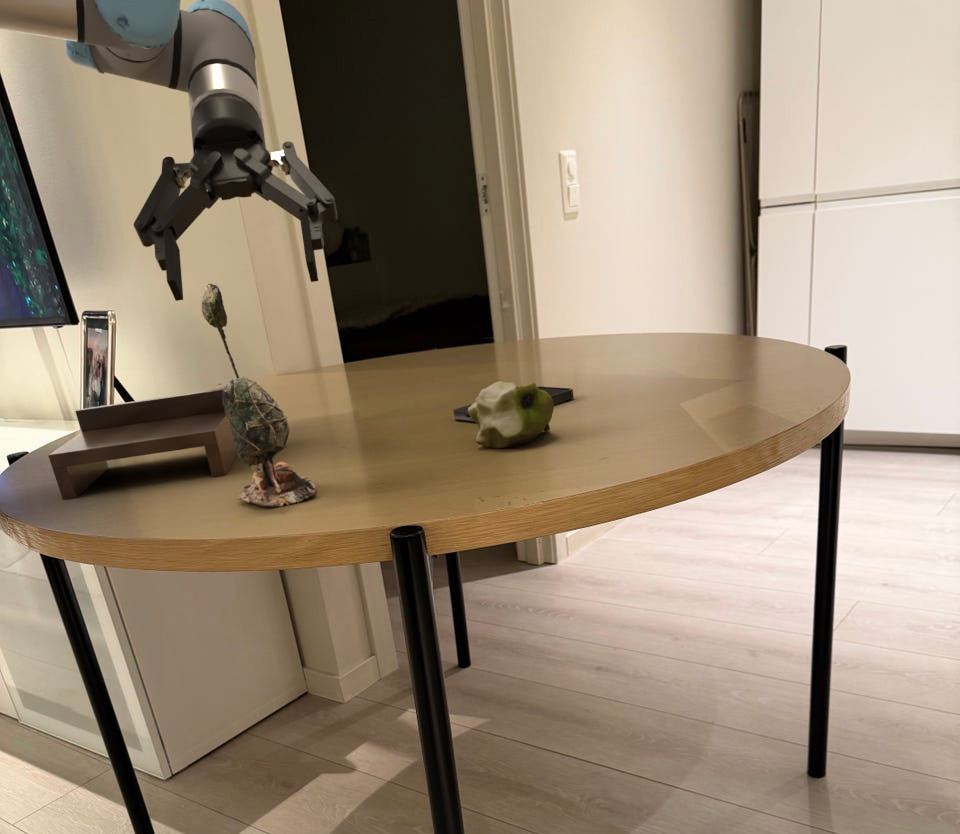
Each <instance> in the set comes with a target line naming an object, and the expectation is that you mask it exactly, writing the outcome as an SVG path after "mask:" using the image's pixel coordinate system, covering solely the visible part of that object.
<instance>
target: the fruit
mask: <svg viewBox="0 0 960 834" xmlns="http://www.w3.org/2000/svg"><path fill="white" fill-rule="evenodd" d="M537 387H538V386H537V384H536V383H535V382H531V383H529V384H526V385H525V386H524V385H516V384H515V383H514V382H512V381H511V382H504V381H499V380H498V381H495V382H494V383H492V384H490V385H489V386H487V387H485V388H482V389H481V390H480V392H479V393H478V395H477V397H475V399H474V400H475V402H473V403H471V404H472V405H471V406H470V407H469V408H468V413H469V415H470V418H471V420H474V421H475V422H474V423H476V424H477V426H478V427H477V428H478V432H477V435H476V437H475V441H476V443H477V444H478V445H481V446H485V447H487V448H489V449H495V448H496V449H503V448H509V447H511V448H515V446H516V447H519V446H522V445H525V444H528V443H531V442H533V441H534V439H535V438H536V437H537V436H539V434H540V433H542V432H543V431H544V432H549V431H550V430H551V427H550V422H551V419H552V418H553V413H554V408H555V405H554V404H553V401H552V398H551V396H550V395H549V394H548V393H547V392H546V391H544V390H540V389H538V388H537Z"/></svg>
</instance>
